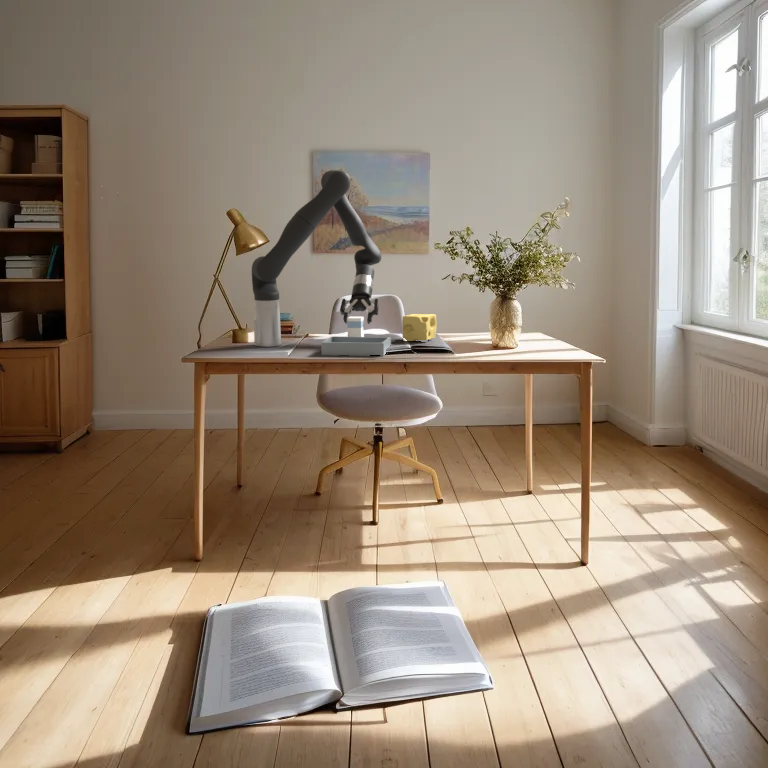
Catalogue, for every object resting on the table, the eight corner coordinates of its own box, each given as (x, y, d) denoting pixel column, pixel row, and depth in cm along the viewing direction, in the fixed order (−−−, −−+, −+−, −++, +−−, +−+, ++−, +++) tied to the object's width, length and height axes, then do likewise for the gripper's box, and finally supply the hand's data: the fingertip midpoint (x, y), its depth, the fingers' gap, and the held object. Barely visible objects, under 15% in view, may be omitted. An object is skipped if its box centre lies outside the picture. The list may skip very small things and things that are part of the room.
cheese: (426, 343, 311) (426, 316, 310) (400, 341, 316) (400, 315, 314) (437, 339, 321) (437, 314, 319) (411, 338, 325) (411, 313, 323)
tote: (321, 355, 285) (321, 342, 284) (331, 348, 300) (331, 336, 299) (383, 356, 281) (383, 343, 280) (390, 349, 296) (390, 337, 295)
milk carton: (347, 347, 302) (347, 318, 299) (350, 345, 306) (350, 316, 304) (361, 348, 301) (360, 318, 299) (364, 345, 306) (363, 316, 303)
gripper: (342, 282, 311) (336, 316, 303) (379, 282, 309) (374, 316, 300) (346, 295, 318) (340, 328, 309) (382, 295, 315) (377, 328, 306)
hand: (357, 322), depth 304 cm, fingers open, 8 cm apart
